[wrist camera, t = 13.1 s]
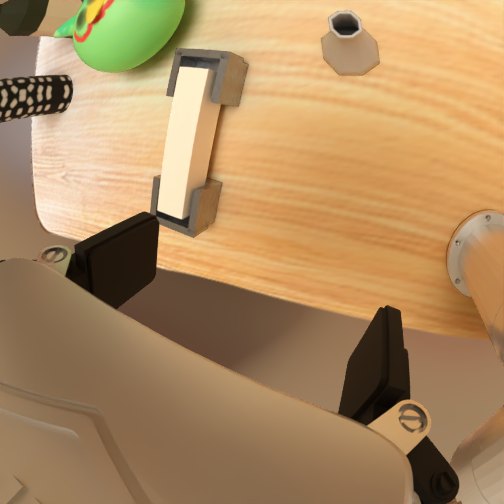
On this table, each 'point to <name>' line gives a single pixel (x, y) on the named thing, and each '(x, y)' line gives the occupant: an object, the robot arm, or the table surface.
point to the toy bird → (121, 31)
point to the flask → (349, 45)
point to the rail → (188, 140)
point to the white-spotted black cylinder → (34, 96)
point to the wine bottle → (36, 16)
